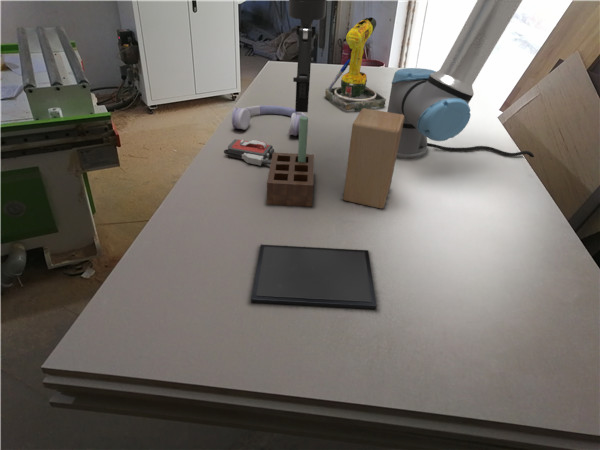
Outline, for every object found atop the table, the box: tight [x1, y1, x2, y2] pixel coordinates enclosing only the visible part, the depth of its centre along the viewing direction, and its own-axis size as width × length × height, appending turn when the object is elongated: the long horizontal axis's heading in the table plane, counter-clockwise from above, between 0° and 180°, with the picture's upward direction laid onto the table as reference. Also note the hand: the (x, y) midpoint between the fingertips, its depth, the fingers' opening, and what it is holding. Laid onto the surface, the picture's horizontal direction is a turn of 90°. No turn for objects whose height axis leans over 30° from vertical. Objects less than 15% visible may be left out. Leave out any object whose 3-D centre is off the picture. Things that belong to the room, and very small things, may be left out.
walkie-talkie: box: [223, 138, 275, 167], centre depth 112 cm, size 9×4×20 cm
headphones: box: [231, 104, 306, 137], centre depth 131 cm, size 22×7×20 cm
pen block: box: [266, 151, 315, 208], centre depth 100 cm, size 11×15×6 cm
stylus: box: [297, 115, 309, 163], centre depth 100 cm, size 2×2×17 cm
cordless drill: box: [324, 16, 387, 112], centre depth 145 cm, size 18×19×28 cm
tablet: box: [250, 244, 377, 310], centre depth 77 cm, size 22×15×1 cm
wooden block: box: [342, 108, 405, 209], centre depth 95 cm, size 10×10×20 cm
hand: (302, 100), depth 93 cm, fingers open, 13 cm apart
